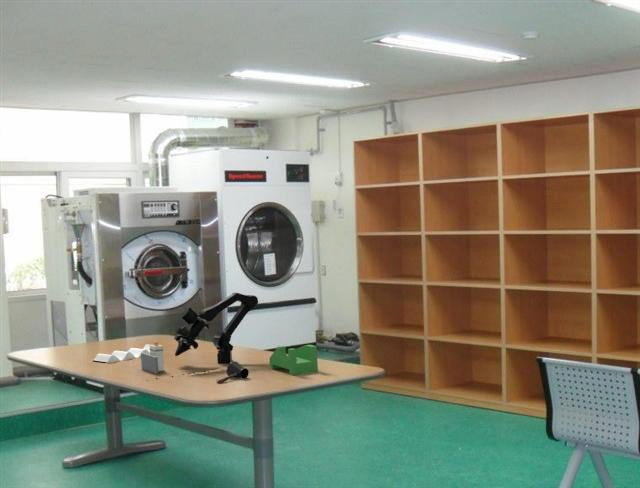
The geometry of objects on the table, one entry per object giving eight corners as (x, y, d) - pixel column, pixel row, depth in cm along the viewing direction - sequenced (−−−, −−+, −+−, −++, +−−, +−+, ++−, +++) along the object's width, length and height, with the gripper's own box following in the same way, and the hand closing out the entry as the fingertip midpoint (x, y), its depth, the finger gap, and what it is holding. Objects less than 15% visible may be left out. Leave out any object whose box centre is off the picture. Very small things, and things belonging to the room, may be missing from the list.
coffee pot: (239, 374, 390) (251, 379, 384) (208, 386, 378) (219, 391, 372) (238, 359, 389) (250, 363, 383) (206, 370, 377) (218, 375, 371)
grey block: (167, 367, 423) (166, 349, 423) (183, 372, 406) (181, 353, 406) (141, 371, 416) (140, 352, 416) (156, 376, 399) (155, 357, 399)
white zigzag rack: (92, 363, 456) (91, 353, 455) (146, 353, 481) (145, 344, 481) (105, 364, 447) (105, 355, 446) (160, 354, 472) (159, 345, 472)
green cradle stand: (318, 372, 389) (316, 346, 388) (291, 376, 383) (290, 349, 382) (295, 365, 410) (293, 340, 410) (270, 369, 404) (268, 344, 404)
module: (158, 368, 414) (157, 340, 414) (164, 370, 408) (162, 342, 408) (150, 369, 412) (149, 341, 412) (156, 371, 406) (154, 343, 406)
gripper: (176, 319, 425) (156, 343, 420) (190, 321, 409) (170, 347, 404) (192, 332, 430) (173, 357, 424) (206, 335, 414) (187, 361, 408)
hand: (175, 355), depth 415 cm, fingers closed
